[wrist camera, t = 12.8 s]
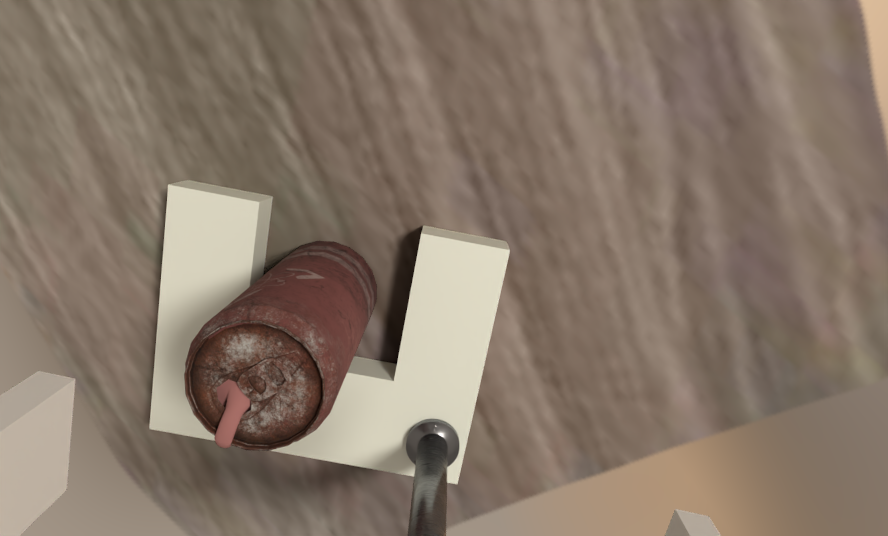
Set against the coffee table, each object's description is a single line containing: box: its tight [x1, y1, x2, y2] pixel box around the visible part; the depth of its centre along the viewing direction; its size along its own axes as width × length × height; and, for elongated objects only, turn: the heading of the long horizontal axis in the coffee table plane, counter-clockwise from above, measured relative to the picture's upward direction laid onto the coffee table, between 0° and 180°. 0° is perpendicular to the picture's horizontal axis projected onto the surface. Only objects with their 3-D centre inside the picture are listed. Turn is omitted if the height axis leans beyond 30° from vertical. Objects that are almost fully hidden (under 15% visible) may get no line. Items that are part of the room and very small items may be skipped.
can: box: [184, 241, 377, 451], centre depth 30 cm, size 6×6×14 cm
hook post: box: [406, 419, 459, 536], centre depth 29 cm, size 3×7×14 cm, turn 79°
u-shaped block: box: [149, 180, 510, 484], centre depth 36 cm, size 15×19×2 cm
